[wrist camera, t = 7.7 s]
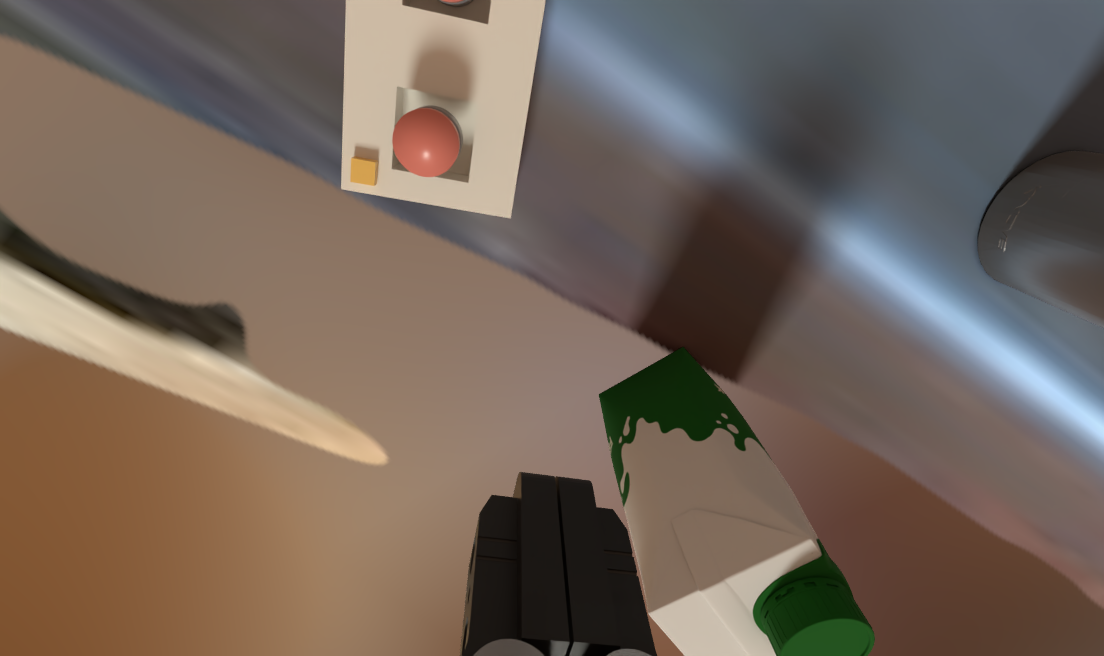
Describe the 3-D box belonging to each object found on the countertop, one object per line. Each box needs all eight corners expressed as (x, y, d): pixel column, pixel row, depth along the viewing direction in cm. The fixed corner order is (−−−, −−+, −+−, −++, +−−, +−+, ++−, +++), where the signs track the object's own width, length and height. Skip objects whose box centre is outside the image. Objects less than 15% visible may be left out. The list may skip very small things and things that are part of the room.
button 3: (466, 111, 27) (462, 116, 24) (459, 173, 28) (454, 182, 25) (405, 99, 26) (394, 102, 24) (400, 162, 27) (390, 170, 25)
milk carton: (737, 414, 41) (911, 679, 23) (635, 467, 43) (724, 754, 25) (688, 329, 38) (848, 565, 20) (579, 391, 39) (636, 661, 21)
